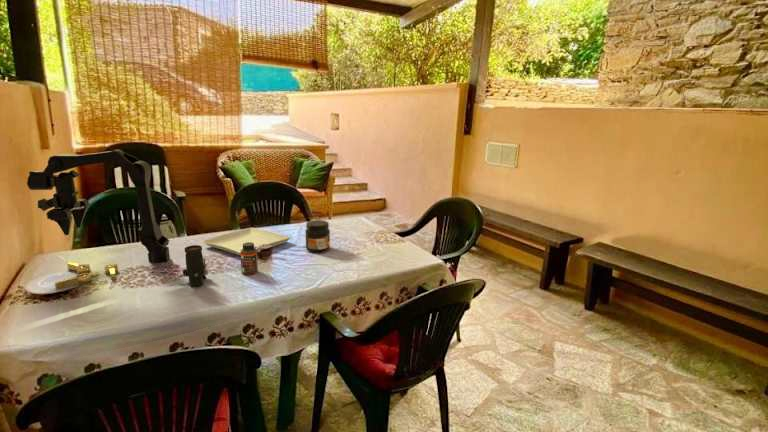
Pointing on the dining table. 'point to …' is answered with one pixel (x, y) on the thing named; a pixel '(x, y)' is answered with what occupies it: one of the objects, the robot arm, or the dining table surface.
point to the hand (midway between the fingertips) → (72, 231)
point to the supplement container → (317, 236)
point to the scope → (195, 266)
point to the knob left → (74, 280)
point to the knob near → (111, 270)
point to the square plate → (246, 239)
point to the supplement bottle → (249, 259)
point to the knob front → (79, 267)
